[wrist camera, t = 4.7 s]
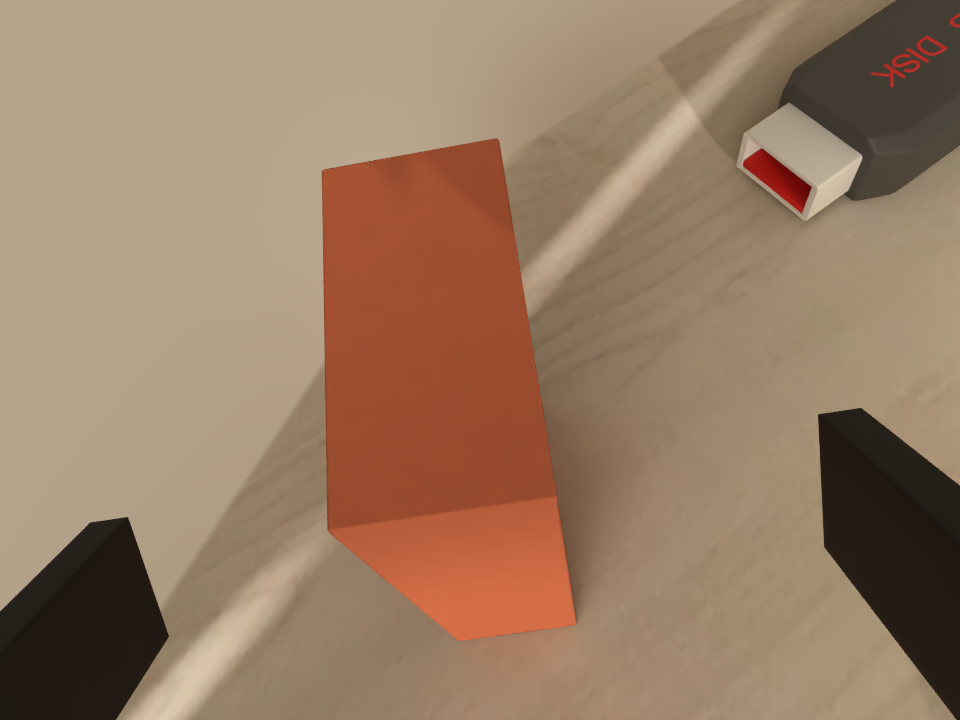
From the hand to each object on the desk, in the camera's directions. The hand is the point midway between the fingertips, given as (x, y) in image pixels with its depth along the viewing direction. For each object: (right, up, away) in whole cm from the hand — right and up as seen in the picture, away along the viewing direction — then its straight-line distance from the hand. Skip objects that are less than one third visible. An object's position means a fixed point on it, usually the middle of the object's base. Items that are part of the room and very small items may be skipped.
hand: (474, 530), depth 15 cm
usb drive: (+15, +12, +14) cm, 24 cm away
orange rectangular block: (+1, -1, +9) cm, 9 cm away
